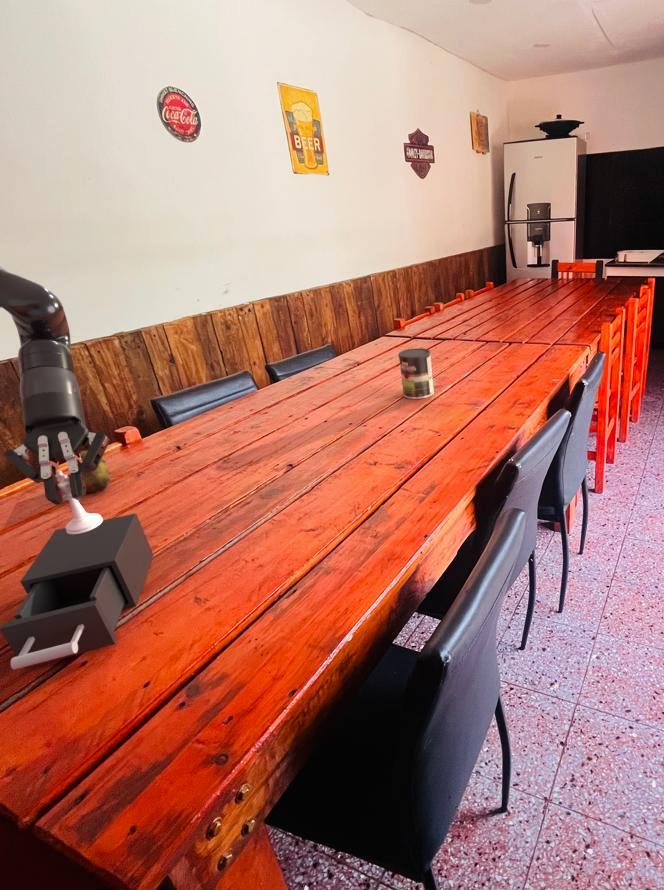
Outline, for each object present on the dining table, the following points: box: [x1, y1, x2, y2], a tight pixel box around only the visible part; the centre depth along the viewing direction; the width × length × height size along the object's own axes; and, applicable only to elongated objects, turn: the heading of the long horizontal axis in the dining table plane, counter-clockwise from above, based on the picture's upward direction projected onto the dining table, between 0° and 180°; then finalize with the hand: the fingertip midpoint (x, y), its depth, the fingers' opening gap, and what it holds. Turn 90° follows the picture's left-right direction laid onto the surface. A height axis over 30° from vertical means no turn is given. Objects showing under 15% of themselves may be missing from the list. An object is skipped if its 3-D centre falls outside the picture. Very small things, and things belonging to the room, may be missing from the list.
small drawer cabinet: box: [20, 513, 154, 610], centre depth 87 cm, size 15×13×10 cm
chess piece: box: [55, 470, 104, 534], centre depth 80 cm, size 5×5×10 cm
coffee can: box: [397, 347, 435, 400], centre depth 167 cm, size 10×10×14 cm
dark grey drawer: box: [0, 565, 126, 670], centre depth 77 cm, size 19×11×8 cm, turn 20°
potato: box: [69, 449, 111, 493], centre depth 122 cm, size 8×13×8 cm, turn 28°
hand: (67, 500), depth 78 cm, fingers closed on chess piece
